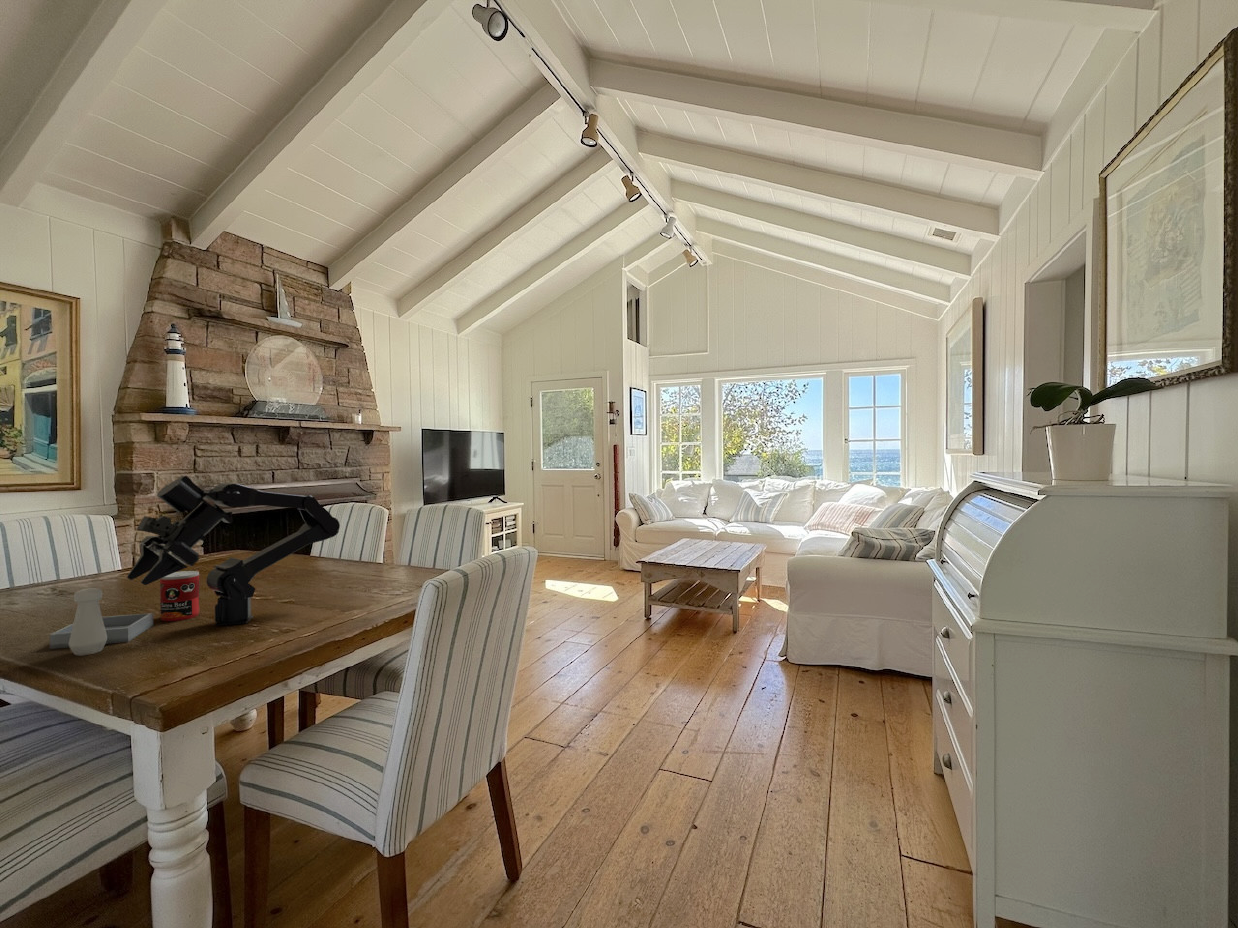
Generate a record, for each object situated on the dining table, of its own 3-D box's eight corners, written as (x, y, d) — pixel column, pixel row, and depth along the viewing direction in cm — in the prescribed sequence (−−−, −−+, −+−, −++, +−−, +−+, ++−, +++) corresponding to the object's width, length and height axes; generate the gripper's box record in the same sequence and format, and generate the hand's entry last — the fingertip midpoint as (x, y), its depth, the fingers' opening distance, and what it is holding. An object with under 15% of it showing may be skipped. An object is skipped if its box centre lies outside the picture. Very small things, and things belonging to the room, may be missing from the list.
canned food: (153, 622, 137) (153, 577, 137) (171, 614, 145) (171, 571, 145) (189, 620, 139) (189, 576, 139) (205, 612, 147) (205, 570, 147)
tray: (153, 625, 135) (153, 612, 135) (128, 641, 122) (128, 627, 122) (83, 631, 130) (82, 618, 130) (49, 649, 118) (49, 634, 118)
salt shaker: (83, 658, 112) (82, 593, 112) (60, 656, 113) (60, 591, 113) (114, 648, 118) (114, 586, 118) (93, 646, 119) (92, 585, 119)
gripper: (151, 501, 132) (88, 554, 123) (181, 504, 121) (114, 563, 112) (191, 531, 138) (134, 584, 129) (223, 537, 127) (163, 595, 118)
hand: (135, 581), depth 122 cm, fingers open, 9 cm apart
